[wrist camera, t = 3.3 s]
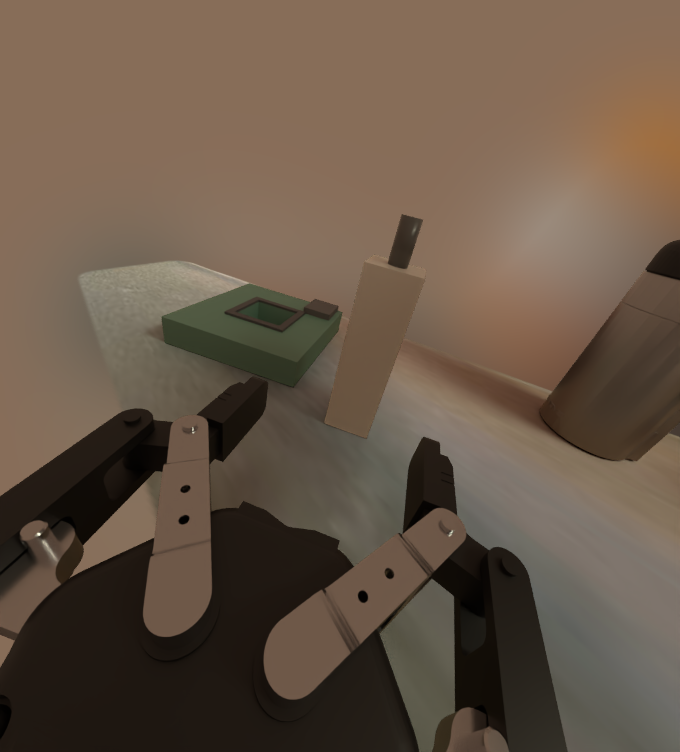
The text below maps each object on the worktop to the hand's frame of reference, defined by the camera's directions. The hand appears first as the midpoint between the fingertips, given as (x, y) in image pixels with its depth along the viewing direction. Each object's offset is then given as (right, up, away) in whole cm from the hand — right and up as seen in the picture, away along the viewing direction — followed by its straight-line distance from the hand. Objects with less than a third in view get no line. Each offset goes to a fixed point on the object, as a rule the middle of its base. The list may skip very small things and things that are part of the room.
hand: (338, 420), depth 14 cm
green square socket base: (-10, +7, +23) cm, 26 cm away
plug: (+1, -2, +13) cm, 13 cm away
